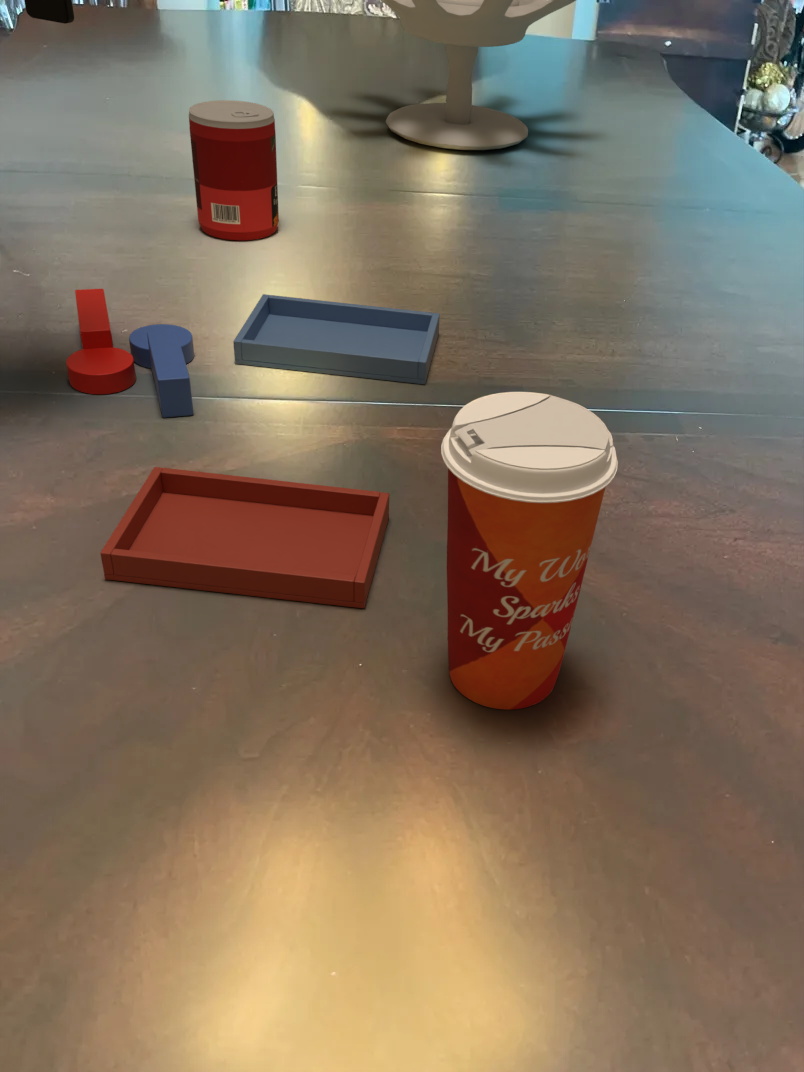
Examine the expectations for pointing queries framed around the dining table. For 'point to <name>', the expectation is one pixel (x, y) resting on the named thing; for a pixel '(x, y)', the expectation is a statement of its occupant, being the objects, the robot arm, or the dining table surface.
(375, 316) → the blue tray
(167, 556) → the red tray
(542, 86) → the dining table surface
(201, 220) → the canned food
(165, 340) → the blue spoon
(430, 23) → the beige pedestal fruit bowl
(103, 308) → the red spoon
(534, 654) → the coffee cup
